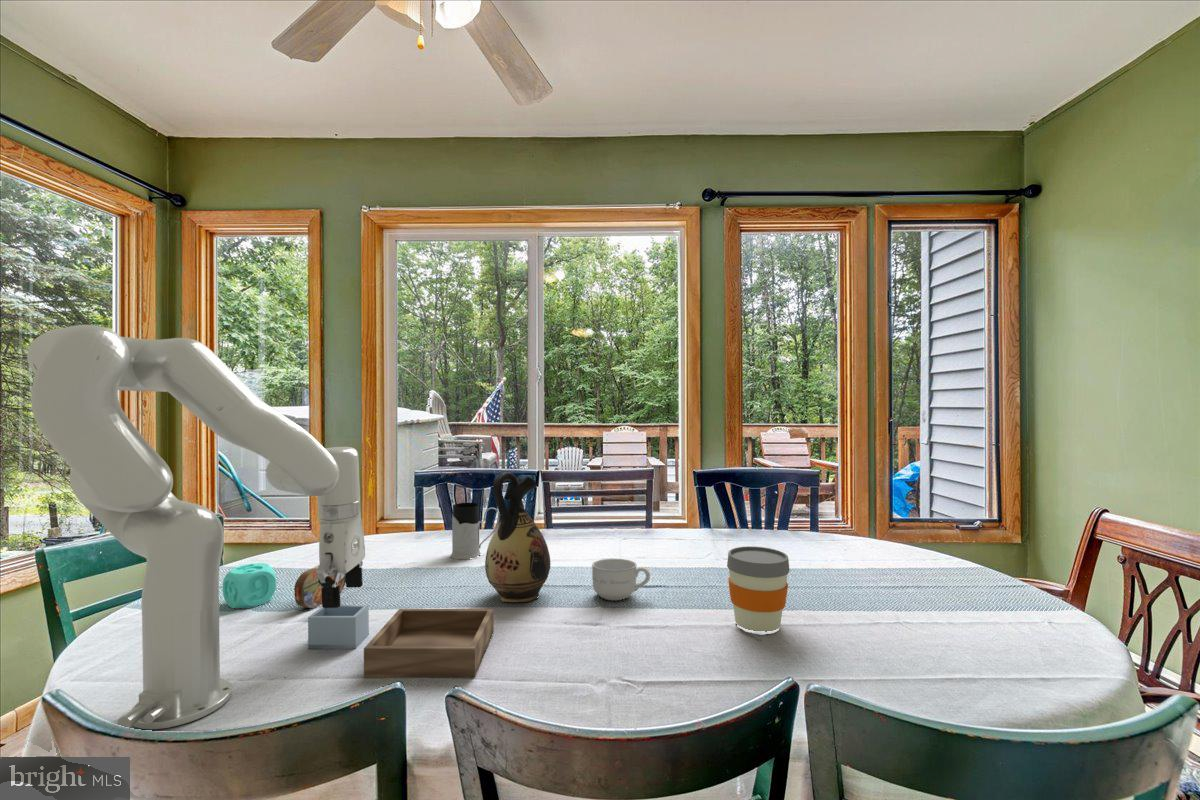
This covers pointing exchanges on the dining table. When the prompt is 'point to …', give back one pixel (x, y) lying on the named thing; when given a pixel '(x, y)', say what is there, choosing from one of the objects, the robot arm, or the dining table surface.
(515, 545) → the ceramic jug
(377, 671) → the tray
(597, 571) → the teacup
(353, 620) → the small crate
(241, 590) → the decorative dice
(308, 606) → the tin
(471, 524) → the glass holder
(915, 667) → the dining table surface
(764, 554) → the reusable coffee cup
